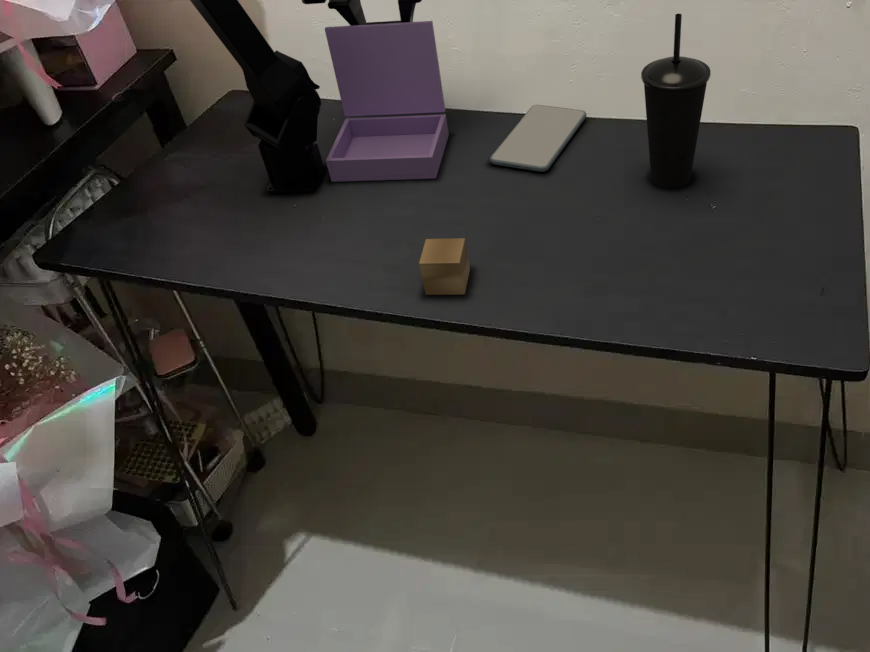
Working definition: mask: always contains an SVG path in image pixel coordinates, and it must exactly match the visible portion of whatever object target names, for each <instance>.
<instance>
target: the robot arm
mask: <svg viewBox="0 0 870 652" xmlns="http://www.w3.org/2000/svg"><path fill="white" fill-rule="evenodd" d="M189 1H190V3H191V4H192V5H193V6H194V8H195V9H196V11H197V12H198V13H199V14H200V16H201V17H202V18H203V20H204V21H205V23H207V25H208V26H209V28H210V29H211V30H212V32H213V33H214V34H215V36H217V38H218V40H220V42H221V43H222V44H223V46H224V47H225V48H226V50H227V51H228V52H229V54H230V55H231V56H232V58H233V59H234V60H235V62H236V63H237V65H238V66H239V67H240V68H241V70H242V72H243V77H244V82H245V85H246V88H247V90H248V92H249V94H250V96H251V98H252V99H253V101H252V104H251V106H250V109H249V111H248V114H247V115H246V117H245V120H244V123H243V126H244V127H245V128H246V130H247V131H248V132H249V133H250V134H251V136H252V137H254V138H257V139H259V140H260V141H259V143H258V145H257V146H258V147H257V148H258V150H259V153H260V157H261V159H262V162H263V165H264V168H265V170H266V174H267V176H268V179H269V182H270V183H269V184H268V186H267V188H266V191H267V193H268V194H296V193H297V194H299V193H300V194H301V193H314V192H315V191H316V189H317V186H318V185H319V183H320V181H321V179H322V178H323V174H324V172H325V171H326V167H327V165H326V164H325V163H324V161H323V157H322V154H321V151H320V147H319V144H318V143H317V141H318V122H319V121H318V120H319V114H320V113H321V112H320V110H321V106H322V99H321V97H320V94H319V92H318V91H317V90H319V89H320V88H321V86H320V85H318V84H317V83H315V82H314V81H313V79H312V78H311V77H310V74H309V73H308V70H307V68H306V66H305V65H304V64H303V61H300V60H298V59H296V58H293V57H291V56H290V55H287V54H286V53H283V52H281V51H279V50H275V51H274V49H273V47H271V45H270V44H269V42H268V41H267V39H266V38H265V36H264V35H263V34H262V32H261V31H260V30H259V28H258V26H257V25H256V24H255V23H254V21H253V20H252V18H251V17H250V16H249V14H248V13H247V12H246V9H245V8H244V7H243V5H242V4H241V3H240V1H239V0H189ZM422 1H423V0H397V5H398V11H399V18H400V20H401V23H405V22H414V15H415V9H416V5H417V4H419V3H421V2H422ZM326 2H327V0H301V3H302V4H304V5H317V4H325V3H326ZM327 8H328V9H329V10H335V11H336V12H337V13H338V14H339V16H341V18H343V20H345V22H346V23H348V26H354V25H366V23H367V19H366V17H365V16H366V15H365V13H364V9H363V6H362V1H361V0H328V2H327Z"/></svg>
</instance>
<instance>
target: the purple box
mask: <svg viewBox="0 0 870 652" xmlns="http://www.w3.org/2000/svg"><path fill="white" fill-rule="evenodd" d="M449 136H450V133H449V127H448V119H447V115H446V113H436V114H433V113H432V114H413V115H412V114H409V115H391V116H389V115H386V116H368V117H367V116H366V117H365V116H361V117H346V118H345V119H344V121H343V123H342V125H341V127H340V130H339V132H338V133H337V136H336V138H335V140H334V143H333V144H332V147H331V149H330V150H329V153H328V155H327V157H326V160H325V163H326V164H325V165H326V167H327V170H328V175H329V177H330V181H331V183H334V182H335V183H337V182H339V183H340V182H367V181H370V182H371V181H399V180H402V181H403V180H430V179H431V180H433V179H434V180H435V179H437V176H438V174H439V173H438V172H439V169H440V167H441V163H442V159H443V157H444V154H445V149H446V146H447V143H448V139H449Z"/></svg>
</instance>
